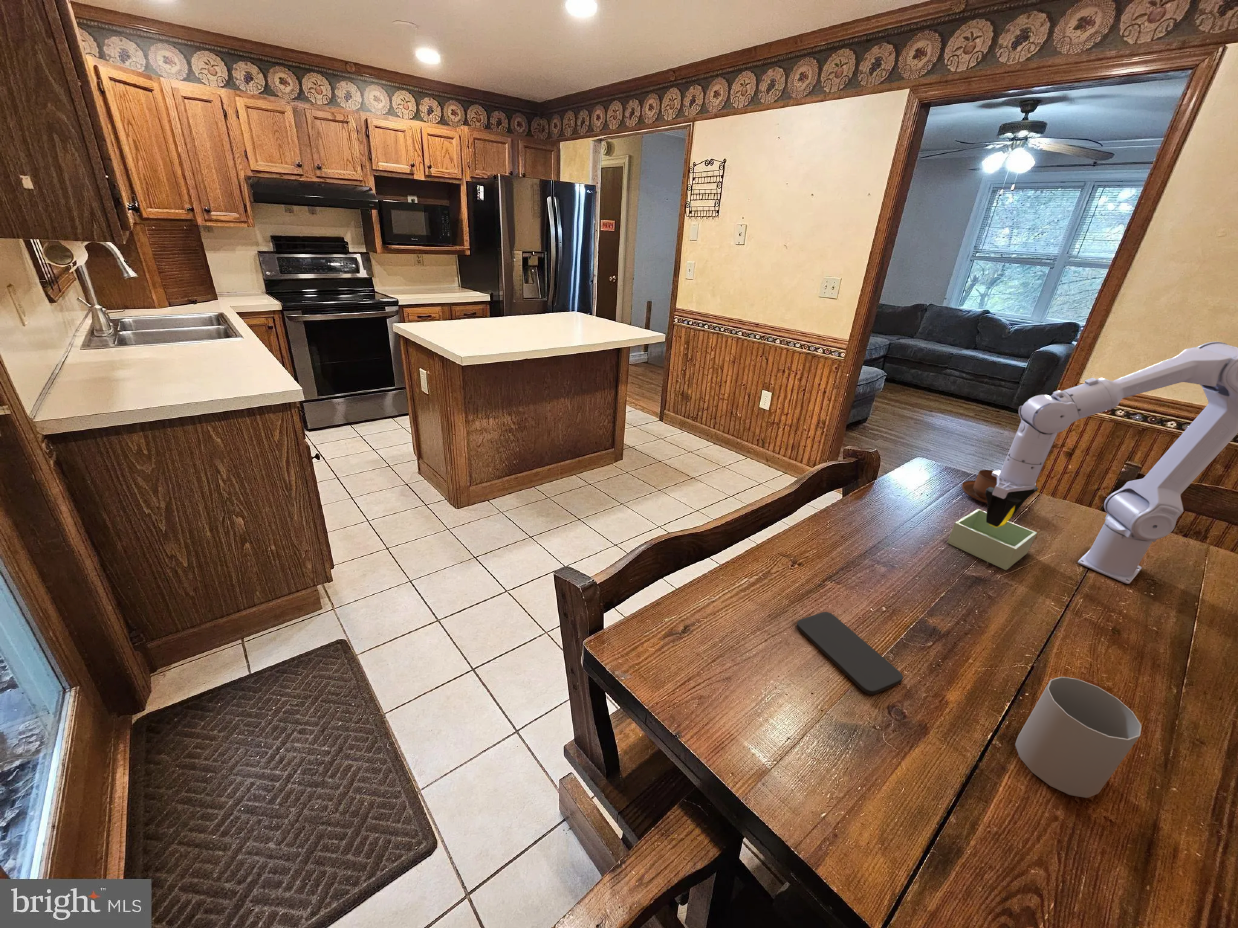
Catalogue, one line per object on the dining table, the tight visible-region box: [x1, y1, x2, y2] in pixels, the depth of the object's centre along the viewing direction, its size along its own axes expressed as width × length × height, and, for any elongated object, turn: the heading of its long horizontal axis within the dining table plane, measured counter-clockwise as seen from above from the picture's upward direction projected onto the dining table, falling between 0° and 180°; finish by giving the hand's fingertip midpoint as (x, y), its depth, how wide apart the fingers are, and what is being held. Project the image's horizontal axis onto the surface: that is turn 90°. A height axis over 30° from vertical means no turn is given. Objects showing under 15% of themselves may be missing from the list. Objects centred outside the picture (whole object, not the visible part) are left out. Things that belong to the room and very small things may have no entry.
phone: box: [796, 611, 904, 695], centre depth 78 cm, size 7×1×15 cm
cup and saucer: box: [961, 469, 997, 504], centre depth 125 cm, size 12×12×6 cm
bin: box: [946, 508, 1038, 571], centre depth 105 cm, size 11×11×5 cm
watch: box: [989, 506, 1015, 528], centre depth 103 cm, size 6×3×6 cm, turn 117°
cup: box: [1014, 676, 1142, 799], centre depth 61 cm, size 8×8×10 cm
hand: (999, 519), depth 103 cm, fingers closed on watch, 6 cm apart
